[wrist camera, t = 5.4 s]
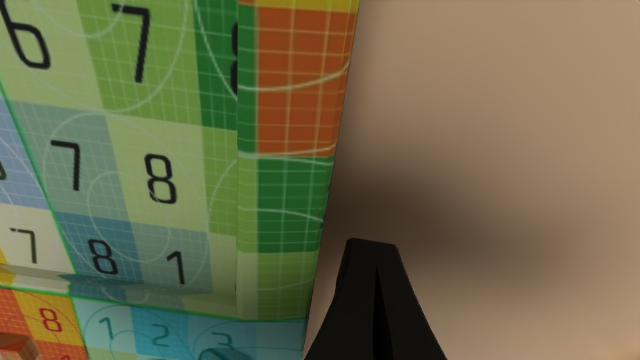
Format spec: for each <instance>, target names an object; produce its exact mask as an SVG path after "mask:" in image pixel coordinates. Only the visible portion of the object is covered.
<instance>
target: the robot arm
mask: <svg viewBox="0 0 640 360" xmlns="http://www.w3.org/2000/svg"><path fill="white" fill-rule="evenodd" d="M304 360H447V358H446V357H445V355H444V353H443V351H442V349H441V347H440V345H439V344H438V342H437V340H436V338H435V336H434V334H433V332H432V330H431V328H430V326H429V324H428V322H427V320H426V318H425V316H424V313H423V311H422V309H421V307H420V305H419V303H418V300H417V298H416V296H415V294H414V291H413V289H412V286H411V284H410V281H409V279H408V276H407V274H406V271H405V269H404V266H403V263H402V260H401V257H400V254H399V251H398V248H397V247H396V246H395V245H394V244H388V243H382V242H376V241H369V240H363V239H357V238H350V239H348V240H347V243H346V247H345V250H344V254H343V258H342V262H341V265H340V269H339V273H338V276H337V281H336V288H335V294H334V297H333V300H332V303H331V305H330V307H329V309H328V312H327V314H326V316H325V319H324V321H323V323H322V325H321V328H320V330H319V332H318V334H317V336H316V338H315V340H314V342H313V344H312V346H311V348H310V350H309V351H308V353H307V355H306V357H305V359H304Z"/></svg>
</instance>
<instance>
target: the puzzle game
mask: <svg viewBox="0 0 640 360" xmlns="http://www.w3.org/2000/svg"><path fill="white" fill-rule="evenodd" d="M359 4H360V0H0V360H302V356H303V350H304V344H305V337H306V331H307V325H308V319H309V313H310V306H311V300H312V294H313V288H314V282H315V276H316V269H317V263H318V257H319V251H320V245H321V239H322V232H323V226H324V220H325V214H326V208H327V201H328V195H329V189H330V183H331V177H332V171H333V164H334V158H335V152H336V146H337V140H338V133H339V127H340V121H341V115H342V109H343V103H344V96H345V90H346V84H347V78H348V72H349V65H350V59H351V53H352V47H353V41H354V35H355V28H356V22H357V16H358V10H359Z"/></svg>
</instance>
